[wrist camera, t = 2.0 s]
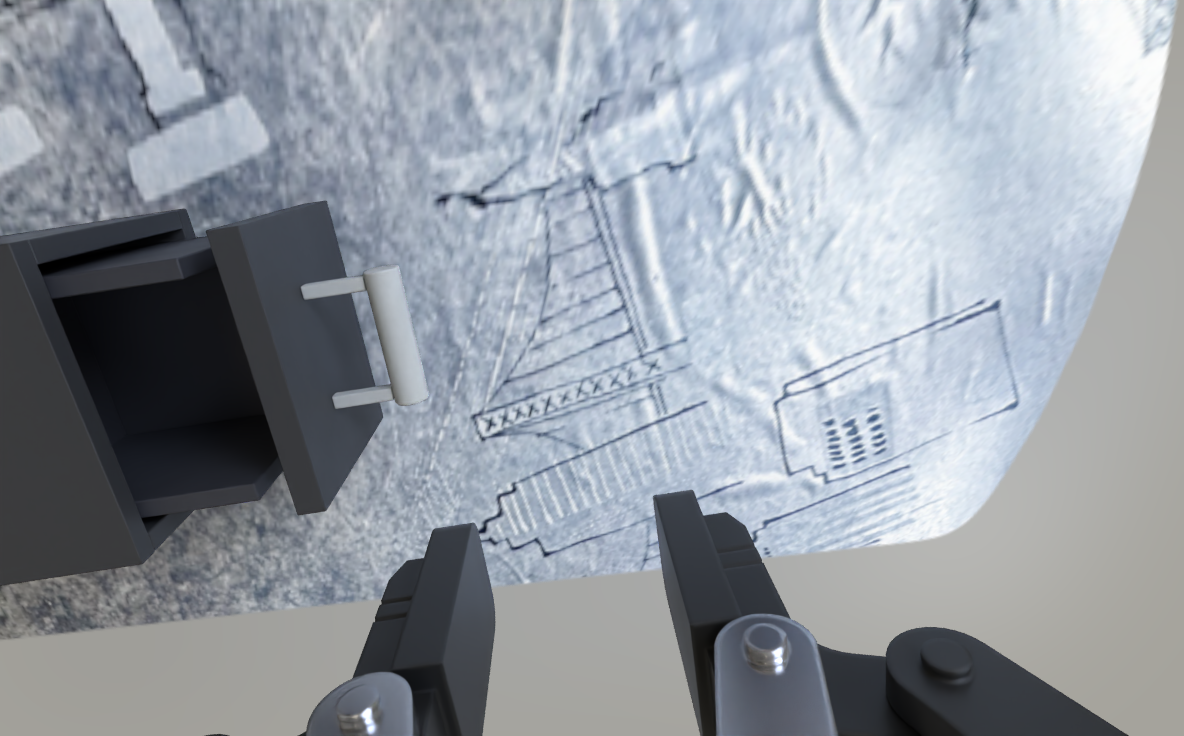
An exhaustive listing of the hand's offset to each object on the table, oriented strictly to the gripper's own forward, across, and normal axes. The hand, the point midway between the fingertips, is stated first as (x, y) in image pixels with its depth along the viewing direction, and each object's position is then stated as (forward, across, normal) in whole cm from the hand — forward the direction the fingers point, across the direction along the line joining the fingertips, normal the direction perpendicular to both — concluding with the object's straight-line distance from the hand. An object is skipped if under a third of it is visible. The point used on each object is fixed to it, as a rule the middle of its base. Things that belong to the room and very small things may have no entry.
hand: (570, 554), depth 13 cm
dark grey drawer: (+24, +15, 0) cm, 29 cm away
